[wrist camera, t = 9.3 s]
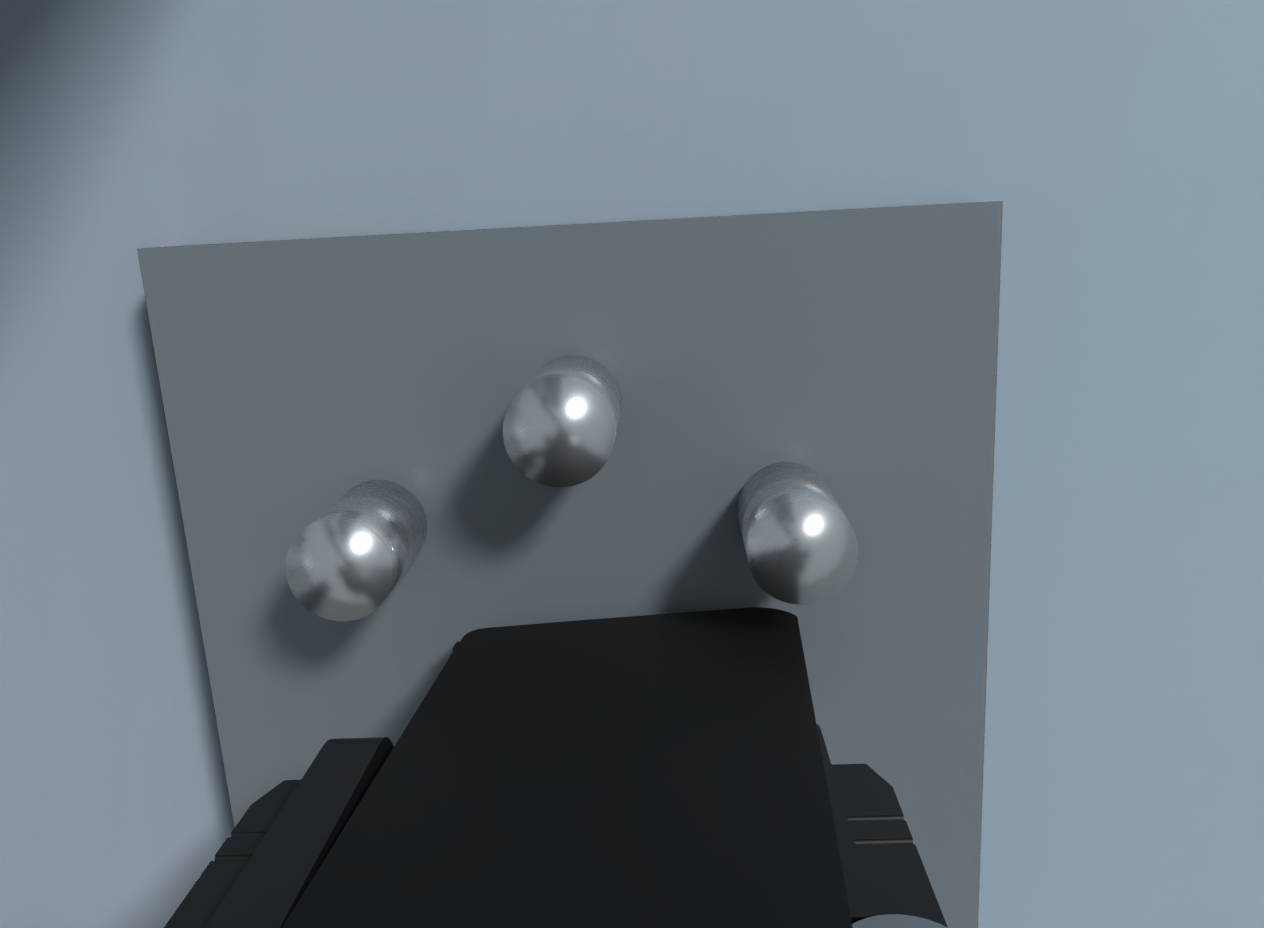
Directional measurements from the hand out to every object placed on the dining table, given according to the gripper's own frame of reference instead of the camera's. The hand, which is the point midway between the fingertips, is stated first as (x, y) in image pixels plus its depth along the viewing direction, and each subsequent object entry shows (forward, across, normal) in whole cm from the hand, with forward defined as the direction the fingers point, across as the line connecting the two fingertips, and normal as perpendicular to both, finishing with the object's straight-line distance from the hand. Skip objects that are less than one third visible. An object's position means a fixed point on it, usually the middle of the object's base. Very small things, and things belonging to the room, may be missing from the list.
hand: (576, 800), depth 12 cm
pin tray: (+4, 0, 0) cm, 4 cm away
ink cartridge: (+3, -1, 0) cm, 3 cm away
